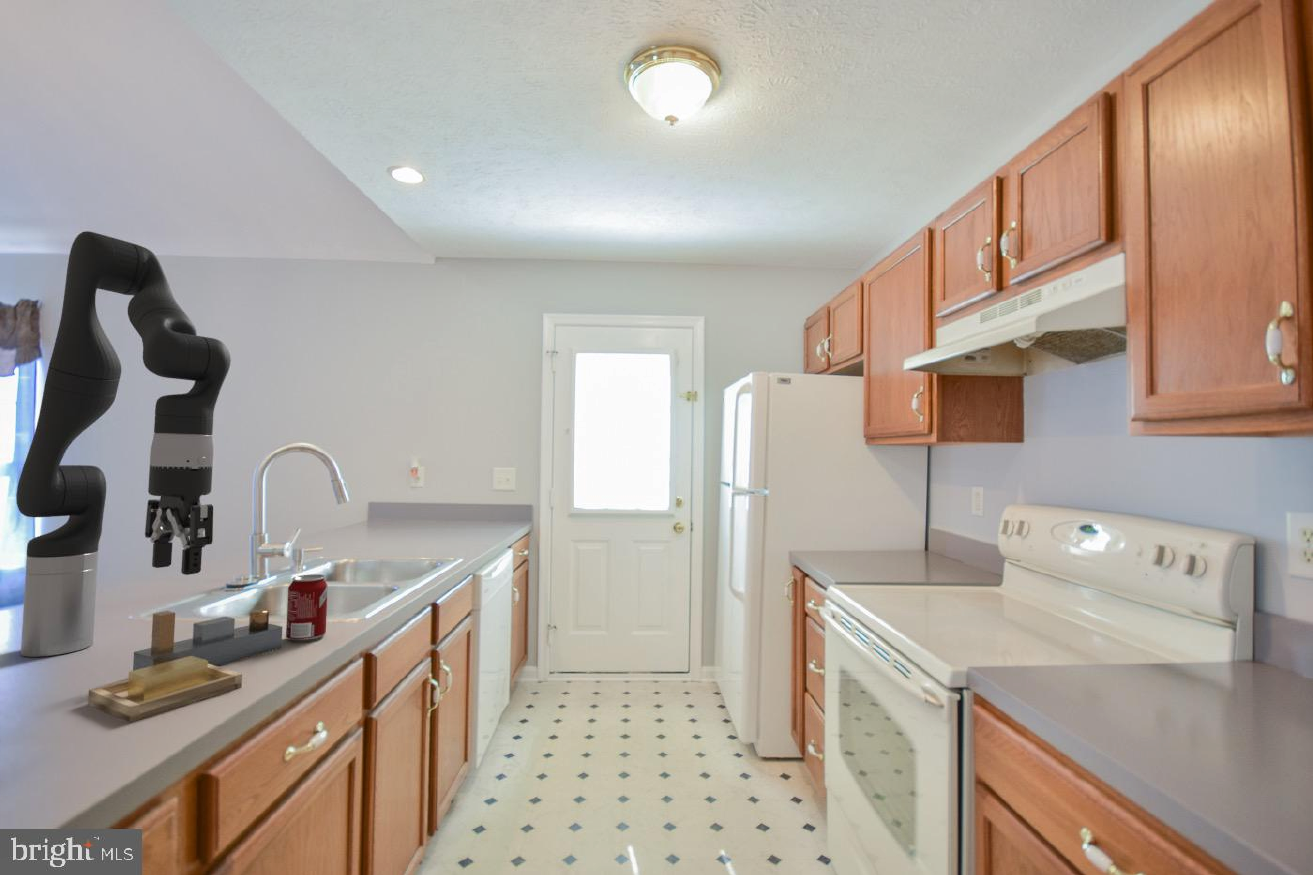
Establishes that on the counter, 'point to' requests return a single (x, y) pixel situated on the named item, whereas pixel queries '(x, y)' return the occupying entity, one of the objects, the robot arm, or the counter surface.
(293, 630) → the soda can
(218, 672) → the parts tray
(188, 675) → the pale wooden block
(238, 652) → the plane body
